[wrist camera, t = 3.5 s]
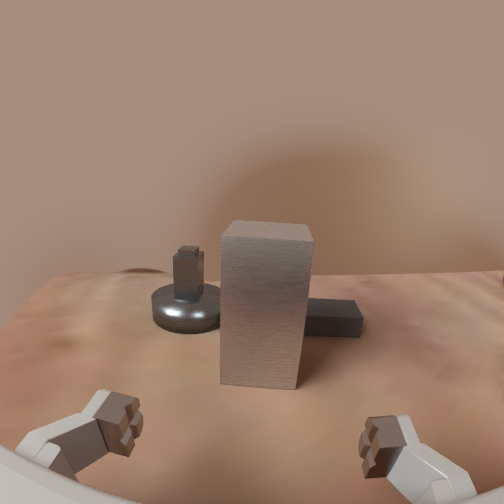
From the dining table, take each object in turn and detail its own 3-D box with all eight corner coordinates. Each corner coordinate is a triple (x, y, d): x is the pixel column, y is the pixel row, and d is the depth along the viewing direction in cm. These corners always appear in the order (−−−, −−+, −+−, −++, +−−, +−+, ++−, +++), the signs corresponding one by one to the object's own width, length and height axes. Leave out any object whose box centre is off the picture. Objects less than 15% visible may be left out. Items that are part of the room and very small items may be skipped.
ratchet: (141, 327, 27) (135, 256, 25) (166, 297, 33) (164, 237, 32) (363, 346, 25) (377, 273, 24) (348, 311, 32) (357, 250, 30)
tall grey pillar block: (293, 350, 25) (306, 224, 22) (295, 389, 20) (314, 241, 17) (230, 345, 25) (234, 220, 22) (220, 383, 20) (221, 235, 18)
